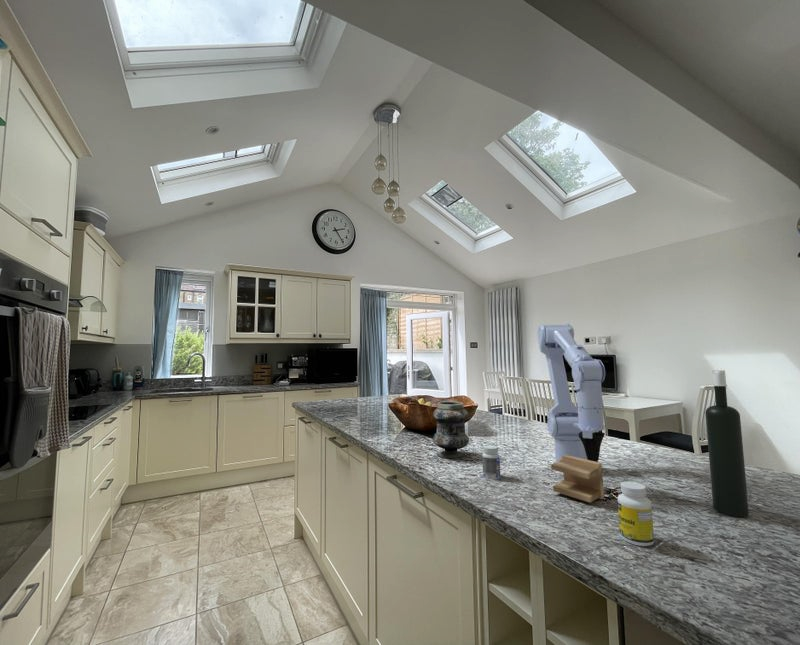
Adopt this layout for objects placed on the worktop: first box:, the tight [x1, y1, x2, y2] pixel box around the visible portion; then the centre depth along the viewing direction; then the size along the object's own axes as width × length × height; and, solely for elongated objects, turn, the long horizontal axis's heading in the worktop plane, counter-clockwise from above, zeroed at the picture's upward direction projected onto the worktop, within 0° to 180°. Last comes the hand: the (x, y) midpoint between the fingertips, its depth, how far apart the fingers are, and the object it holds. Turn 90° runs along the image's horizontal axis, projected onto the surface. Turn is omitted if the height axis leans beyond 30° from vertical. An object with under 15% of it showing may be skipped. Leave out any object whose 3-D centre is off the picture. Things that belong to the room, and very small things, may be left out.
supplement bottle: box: [617, 481, 655, 547], centre depth 69 cm, size 5×5×10 cm
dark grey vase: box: [432, 400, 470, 461], centre depth 125 cm, size 12×12×18 cm
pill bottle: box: [481, 444, 501, 481], centre depth 104 cm, size 5×5×8 cm
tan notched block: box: [550, 455, 605, 504], centre depth 89 cm, size 8×9×6 cm
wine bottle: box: [704, 369, 750, 517], centre depth 81 cm, size 6×6×30 cm
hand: (593, 462), depth 94 cm, fingers closed
